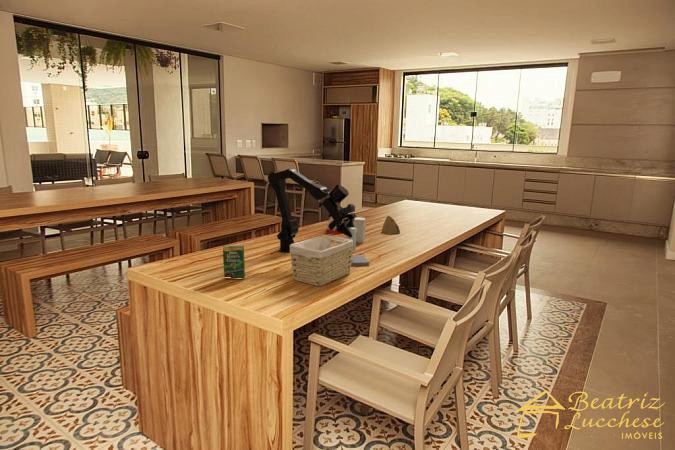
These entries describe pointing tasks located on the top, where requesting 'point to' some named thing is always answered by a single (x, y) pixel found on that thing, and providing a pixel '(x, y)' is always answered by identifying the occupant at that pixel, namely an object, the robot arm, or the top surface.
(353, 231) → the white dome-topped cylinder
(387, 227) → the rock
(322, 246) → the storage basket
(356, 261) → the shelf board
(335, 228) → the kitchen timer
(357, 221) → the supplement box
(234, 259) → the coffee box
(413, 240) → the top surface
